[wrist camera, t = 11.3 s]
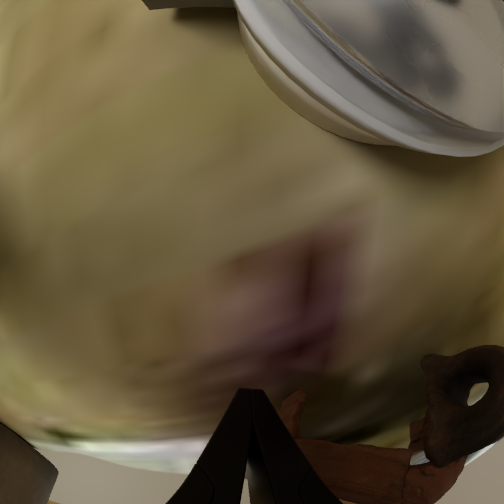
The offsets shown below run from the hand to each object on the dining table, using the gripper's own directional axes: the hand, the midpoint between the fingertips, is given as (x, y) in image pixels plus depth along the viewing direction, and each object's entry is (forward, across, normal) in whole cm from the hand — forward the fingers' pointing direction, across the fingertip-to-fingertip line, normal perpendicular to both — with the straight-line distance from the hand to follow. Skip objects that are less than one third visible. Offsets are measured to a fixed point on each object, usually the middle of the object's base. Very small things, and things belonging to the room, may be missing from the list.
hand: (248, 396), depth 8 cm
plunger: (-2, -2, -12) cm, 12 cm away
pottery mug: (+2, -6, +2) cm, 7 cm away
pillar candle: (+2, +22, +21) cm, 30 cm away
